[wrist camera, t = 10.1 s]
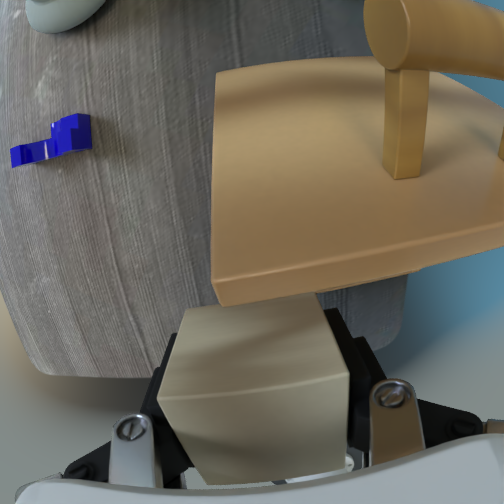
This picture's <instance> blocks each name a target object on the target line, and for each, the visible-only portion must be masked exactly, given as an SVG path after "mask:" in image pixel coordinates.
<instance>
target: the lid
mask: <svg viewBox="0 0 504 504" xmlns="http://www.w3.org/2000/svg"><path fill="white" fill-rule="evenodd" d="M364 26H365V32H366V36H367V40H368V43H369V46H370V49H371V51H372V53H373V55H374V56H362V57H332V58H316V59H304V60H294V61H285V62H277V63H269V64H262V65H256V66H250V67H244V68H238V69H233V70H228V71H222V72H218V73H216V85H215V104H214V126H213V152H212V189H211V283H212V285H213V288H214V290H215V293H216V295H217V298H218V300H219V302H220V304H221V306H222V307H231V306H237V305H243V304H249V303H255V302H261V301H266V300H272V299H277V298H283V297H288V296H294V295H299V294H304V293H309V292H315V291H320V290H325V289H330V288H334V287H339V286H344V285H349V284H354V283H358V282H363V281H368V280H372V279H377V278H381V277H386V276H390V275H394V274H399V273H403V272H407V271H411V270H416V269H420V268H424V267H428V266H432V265H436V264H440V263H444V262H448V261H452V260H456V259H459V258H463V257H467V256H471V255H474V254H478V253H482V252H485V251H489V250H493V249H496V248H500V247H503V246H504V109H503V108H502V107H500V106H499V105H497V104H495V103H494V102H492V101H490V100H489V99H487V98H485V97H484V96H482V95H480V94H478V93H477V92H475V91H473V90H471V89H470V88H468V87H466V86H464V85H462V84H460V83H458V82H456V81H454V80H452V79H450V78H448V77H446V76H444V75H442V74H440V73H438V72H443V73H453V74H462V75H470V76H478V77H484V78H490V79H497V80H502V81H504V11H501V10H499V9H496V8H493V7H490V6H487V5H484V4H481V3H479V2H475V1H472V0H365V2H364Z"/></svg>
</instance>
